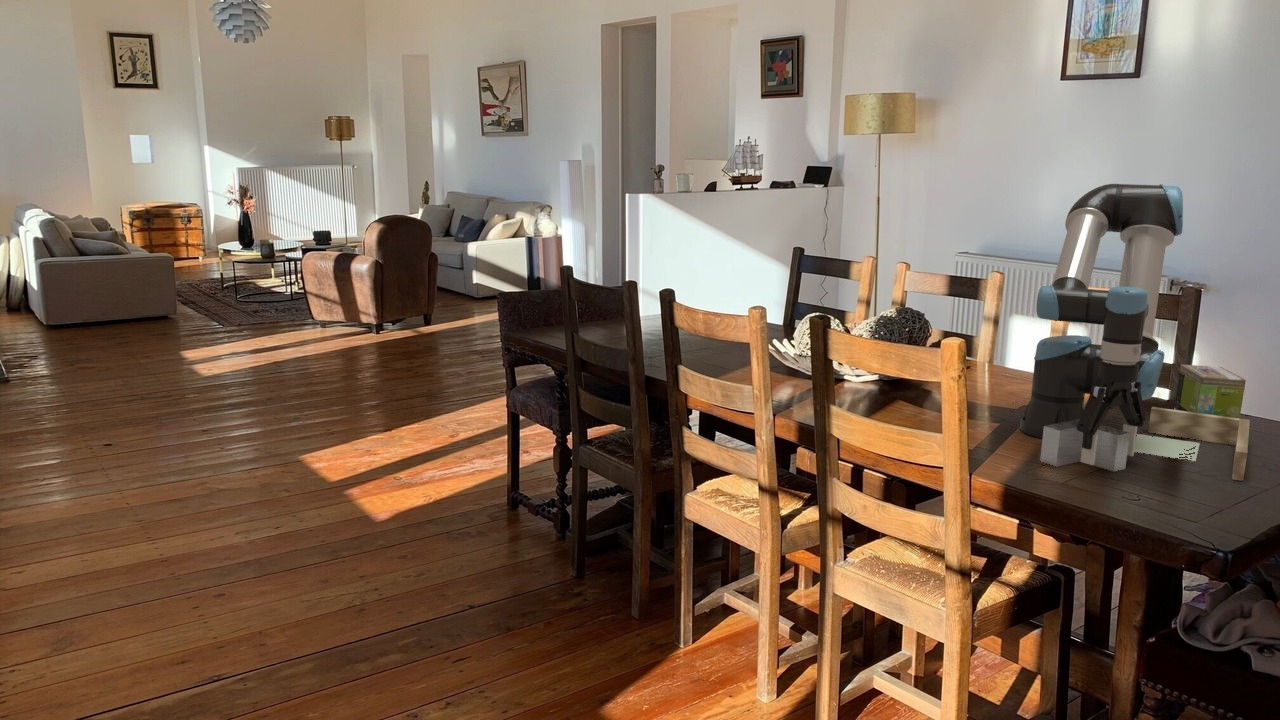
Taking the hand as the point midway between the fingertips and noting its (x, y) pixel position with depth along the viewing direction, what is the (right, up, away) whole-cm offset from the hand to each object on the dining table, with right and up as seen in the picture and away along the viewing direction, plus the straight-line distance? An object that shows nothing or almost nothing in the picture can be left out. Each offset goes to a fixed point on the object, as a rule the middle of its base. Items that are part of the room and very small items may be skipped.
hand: (1107, 458), depth 207 cm
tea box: (+37, +4, +29) cm, 48 cm away
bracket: (-5, -1, +1) cm, 5 cm away
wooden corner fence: (+24, 0, +10) cm, 26 cm away
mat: (+19, +1, +15) cm, 24 cm away
